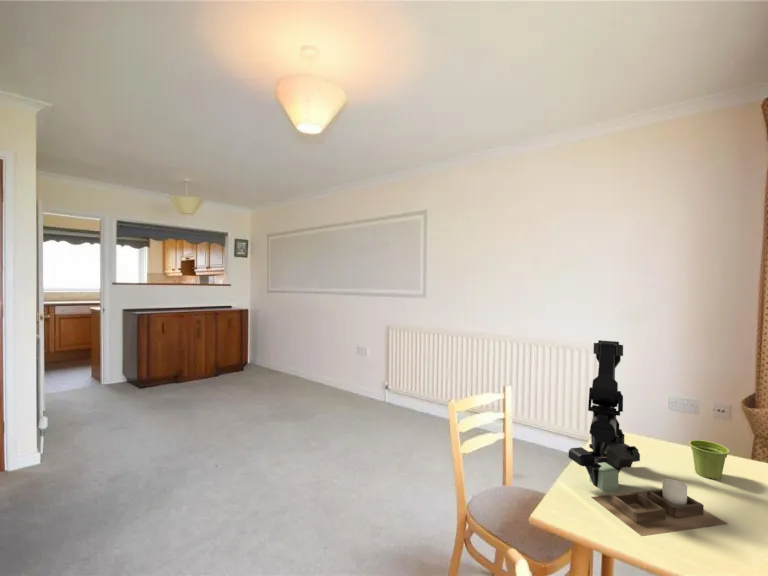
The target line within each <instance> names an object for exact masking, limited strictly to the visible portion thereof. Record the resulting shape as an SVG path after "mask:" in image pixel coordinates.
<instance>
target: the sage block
mask: <svg viewBox="0 0 768 576" xmlns="http://www.w3.org/2000/svg"><path fill="white" fill-rule="evenodd" d="M598 464H599V465H601V466H602V467H600V468H599V469H598V484H597V486H596V488H598V489H600V490H601V491H609V490H618V489H619V474H618V470H617V469H615V468H613V467H612V466H610V465H609V464H607V463H605V462H603V463H598ZM589 482H590V483H592V484H593V482H592V480H591V478H590V477H589Z"/></svg>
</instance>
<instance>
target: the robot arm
mask: <svg viewBox="0 0 768 576" xmlns="http://www.w3.org/2000/svg"><path fill="white" fill-rule="evenodd" d="M593 354H595V358H596V360H597V362H598V371H597V376H596V377H595V378H594V379H592V383H591V384H592V386H591V387H589V390H588V392H589V393H588V405H587V410H588V412H592V419H591V423H590V427H589V434H590V435H591V438H590V439H591V443H590V444H589V445H588V446H589V448H590V449H591V451H589V450H587V449H585V448H583V447H581V446H580V447H571V448H570V449H568V459H570V460H572V461H573V462H575V463H576V464H577V465H579V466H580V467H585V470H586V471H587V473H588V475H589V479H590V478H591V480H592V482H593V483H592V482H591V483H592V484H593V485H594V486H595V487H597V484H598V469H599V468H600V467H602V466H601V465H599V464H598V463H603V462H605V463H607V464H609V465H610V466H612V467H613V468H615V469H617V470H618V475H620V472H621V470H622V469H623V468H631V467H632V465H633V463H635V462H640V461H641V454H640V452H639V449H638V448H637V447H636V446H635V445H628V444H627V443H625V434H624V433H623V430H622V429H620V422H619V421H618V418H617V416H619V417H620V416H621V413H622V412H624V395H623V394H622V391H620V390H619V387H618V385H619V384H618V382H617V381H616V368H617V366H618V365H619V364H620V363H621V361H622V360H621V357H624V344H620V342H619V341H616V340H615V341H614V340H602V339H601V340H599V339H598V342H593Z"/></svg>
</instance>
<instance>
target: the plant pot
mask: <svg viewBox="0 0 768 576" xmlns="http://www.w3.org/2000/svg"><path fill="white" fill-rule="evenodd" d="M688 444H689V446H690V449H691V451H692V456H693V465H694V472H695V473H696V474H697V475H699V476H701V477H703V478H709V479H712V480H720V479H722V477H723V470H724V467H725V462H726V458H727V457H728V454H730V449H729V448H727V446H724V445H722V444H720V443H717V442H713V441H708V440H703V439H702V440H701V439H694V440H690V441H689V442H688Z"/></svg>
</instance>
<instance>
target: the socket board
mask: <svg viewBox="0 0 768 576" xmlns="http://www.w3.org/2000/svg"><path fill="white" fill-rule="evenodd" d="M591 498H592V500H594V501H595V502H597V503H598V504H599V505H600V506H602V507H603V508H604V509H606V510H607V511H608V512H609V513H611V514H612V515H613V516H615V517H616V518H617V519H619V520H620V521H621V522H622V523H624V524H625V525H626V526H628V527H629V528H630V529H632V530H633V531H634V532H635V533H637V534H638V535H639V536H640V537H645V536H652V535H660V534H667V533H668V534H669V533H675V532H681V531H687V530H696V529H703V528H711V527H718V526H725V525H729V523H728V522H726V521H724V520H722V519H721V518H719V517H717V516H716V515H714V514H712V513H711V512H709V511H707V510H705V509H704V504H702V503H701V502H699V501H697V500H696V499H694V498H692V497H690V496H688V495H687V505H682V506H674V505H673V504H671V503H669V502H668V501H666V500H664V499H663V498H662V488H661V489H660V488H659V489H653V490H652V489H650V490H642V491H640V490H639V491H634V492H625V493H624V492H623V493H616V494H607V495H599V496H591Z"/></svg>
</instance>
